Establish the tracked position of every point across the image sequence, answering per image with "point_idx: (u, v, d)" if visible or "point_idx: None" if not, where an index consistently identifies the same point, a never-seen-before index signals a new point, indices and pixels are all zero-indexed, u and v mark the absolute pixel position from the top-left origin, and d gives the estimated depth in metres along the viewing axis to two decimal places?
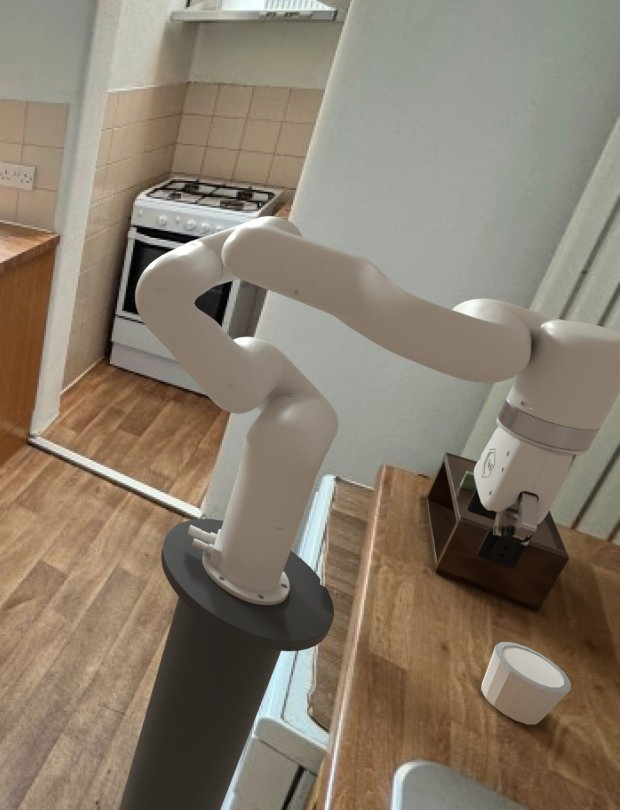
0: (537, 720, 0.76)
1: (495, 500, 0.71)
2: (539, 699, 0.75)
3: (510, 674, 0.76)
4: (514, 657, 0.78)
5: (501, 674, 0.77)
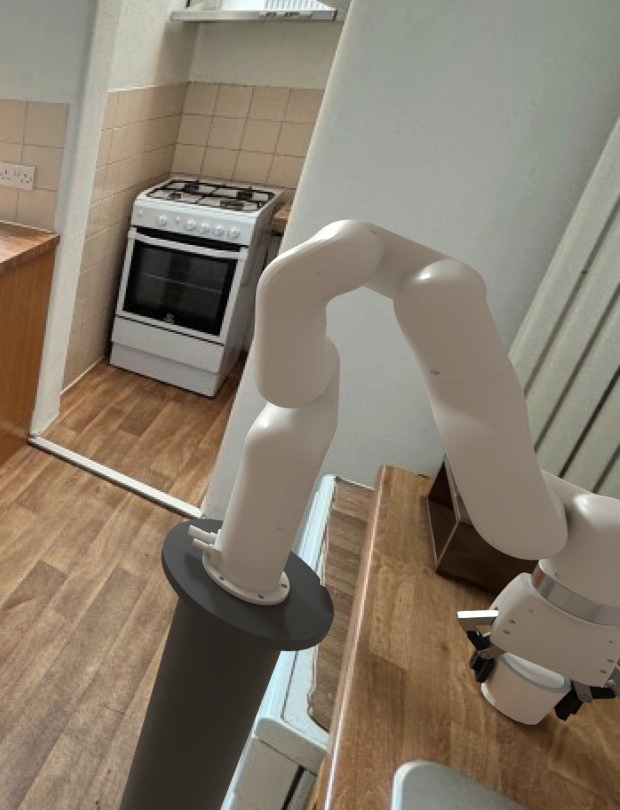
0: (537, 720, 0.76)
1: None
2: (539, 699, 0.74)
3: (510, 674, 0.76)
4: (514, 657, 0.78)
5: (501, 674, 0.77)
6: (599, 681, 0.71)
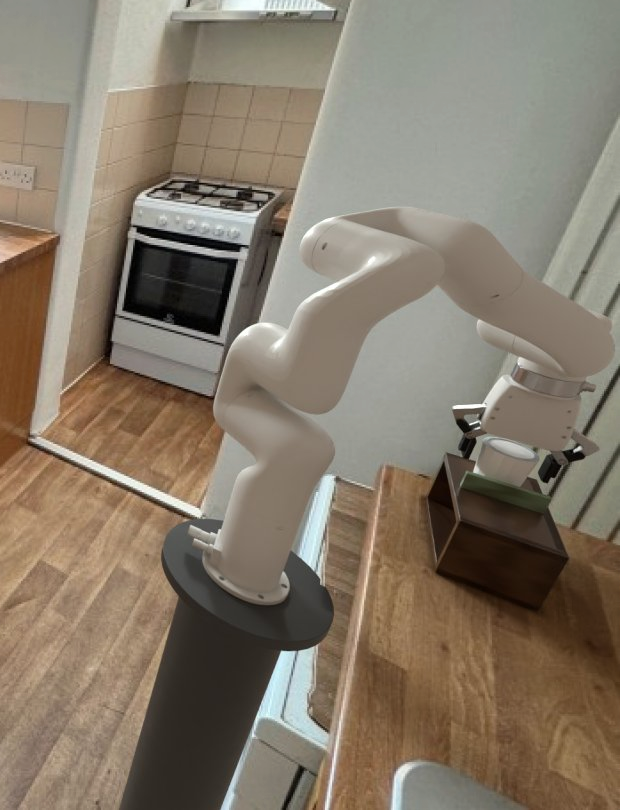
0: None
1: None
2: (515, 469, 0.99)
3: (494, 453, 1.01)
4: (497, 444, 1.02)
5: (487, 456, 1.02)
6: (561, 445, 0.96)
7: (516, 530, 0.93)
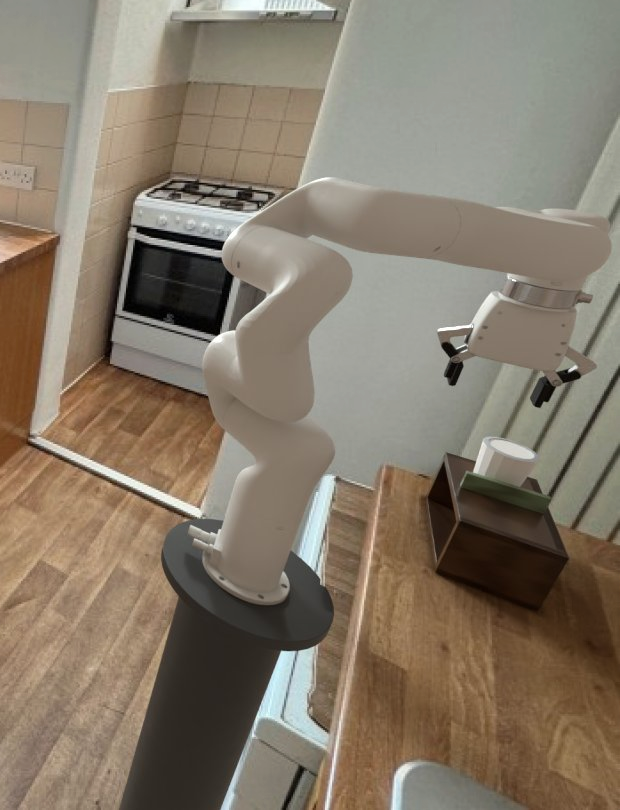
0: None
1: None
2: (515, 469, 0.99)
3: (494, 453, 1.01)
4: (497, 444, 1.02)
5: (487, 456, 1.02)
6: (555, 364, 0.88)
7: (516, 530, 0.93)
